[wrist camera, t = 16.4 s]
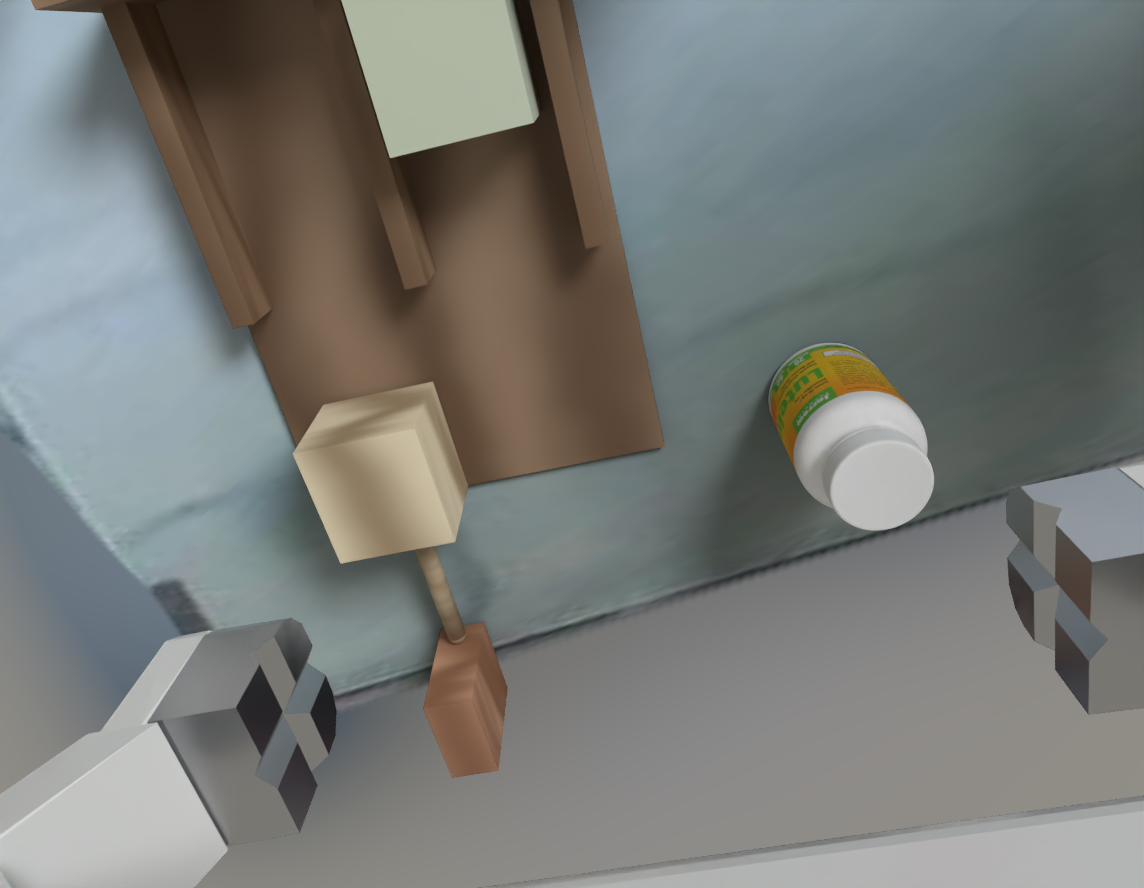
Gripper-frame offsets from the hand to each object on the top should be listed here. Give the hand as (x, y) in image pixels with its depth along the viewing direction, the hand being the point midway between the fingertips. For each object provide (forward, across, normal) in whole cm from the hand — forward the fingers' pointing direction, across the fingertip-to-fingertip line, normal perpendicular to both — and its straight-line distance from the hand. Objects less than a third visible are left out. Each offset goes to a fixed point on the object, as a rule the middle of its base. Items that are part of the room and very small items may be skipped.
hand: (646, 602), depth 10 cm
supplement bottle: (+31, -8, +12) cm, 34 cm away
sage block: (+31, +5, -7) cm, 32 cm away
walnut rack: (+31, +9, 0) cm, 32 cm away
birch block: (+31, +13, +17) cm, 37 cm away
